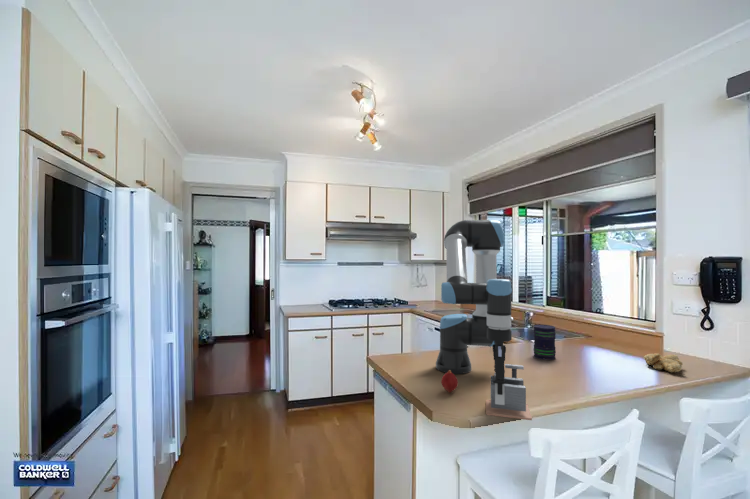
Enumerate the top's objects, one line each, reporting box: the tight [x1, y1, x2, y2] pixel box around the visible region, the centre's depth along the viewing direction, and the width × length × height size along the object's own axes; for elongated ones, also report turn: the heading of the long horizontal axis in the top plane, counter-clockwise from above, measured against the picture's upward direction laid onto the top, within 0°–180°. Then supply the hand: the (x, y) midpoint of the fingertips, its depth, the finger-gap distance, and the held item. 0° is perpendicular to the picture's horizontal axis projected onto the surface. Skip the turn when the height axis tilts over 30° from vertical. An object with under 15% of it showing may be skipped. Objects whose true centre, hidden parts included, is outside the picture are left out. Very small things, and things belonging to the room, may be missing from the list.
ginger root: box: [643, 352, 683, 373], centre depth 161 cm, size 16×16×8 cm
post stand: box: [504, 363, 525, 378], centre depth 128 cm, size 6×3×10 cm, turn 73°
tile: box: [485, 399, 533, 421], centre depth 115 cm, size 13×11×1 cm
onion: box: [440, 370, 459, 394], centre depth 131 cm, size 6×6×8 cm
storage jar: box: [533, 324, 557, 361], centre depth 178 cm, size 10×10×15 cm
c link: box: [490, 375, 527, 412], centre depth 116 cm, size 10×9×7 cm
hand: (499, 398), depth 116 cm, fingers closed on c link, 9 cm apart
